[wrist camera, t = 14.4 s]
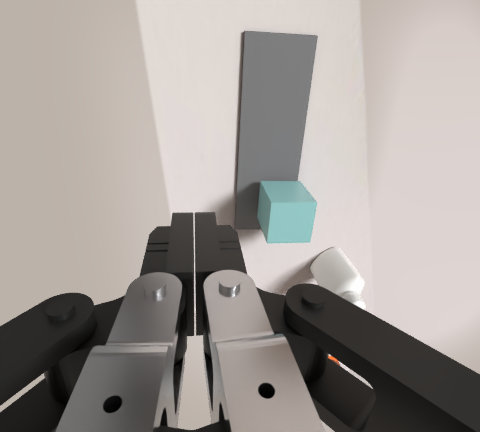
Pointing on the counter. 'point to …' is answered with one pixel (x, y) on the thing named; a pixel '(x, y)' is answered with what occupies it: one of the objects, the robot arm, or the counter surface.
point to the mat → (271, 114)
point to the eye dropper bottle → (338, 275)
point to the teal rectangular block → (286, 212)
